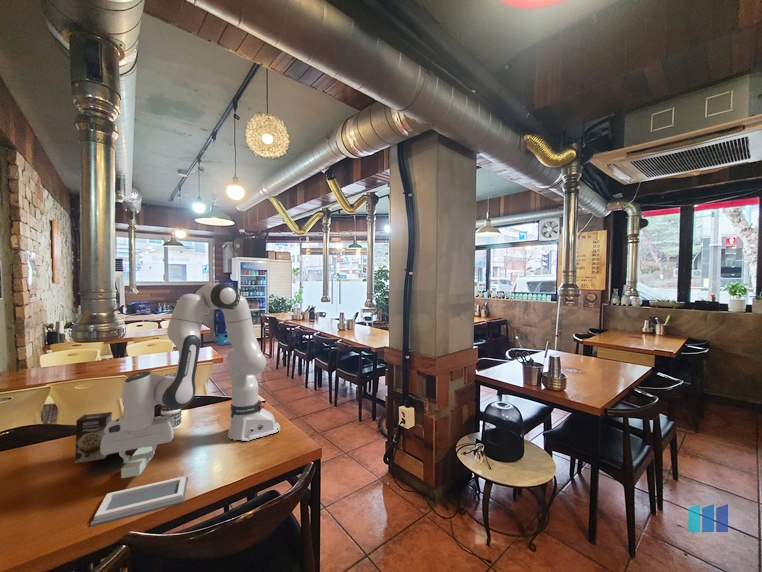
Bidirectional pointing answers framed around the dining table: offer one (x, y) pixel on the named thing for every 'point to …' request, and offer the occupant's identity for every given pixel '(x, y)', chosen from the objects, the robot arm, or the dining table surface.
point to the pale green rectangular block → (136, 463)
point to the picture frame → (141, 500)
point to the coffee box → (90, 436)
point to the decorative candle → (172, 411)
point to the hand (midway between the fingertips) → (139, 459)
